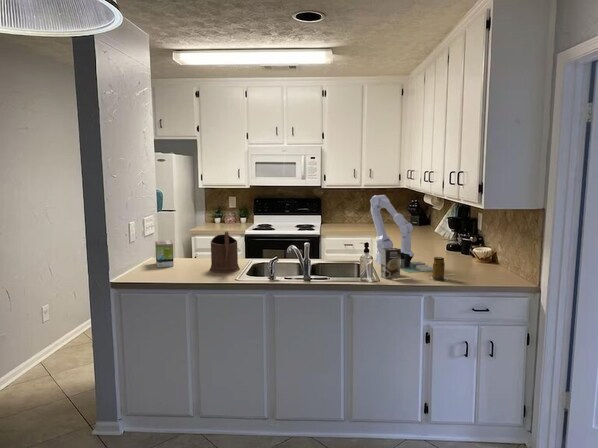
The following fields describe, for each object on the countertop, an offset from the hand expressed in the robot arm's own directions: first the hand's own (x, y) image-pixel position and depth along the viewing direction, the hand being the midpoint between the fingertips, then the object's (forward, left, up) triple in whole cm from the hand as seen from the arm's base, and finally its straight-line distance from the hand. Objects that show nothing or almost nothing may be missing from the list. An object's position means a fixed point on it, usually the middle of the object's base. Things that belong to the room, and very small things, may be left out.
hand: (405, 265), depth 263 cm
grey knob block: (-1, +9, -2) cm, 9 cm away
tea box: (-59, -138, -2) cm, 150 cm away
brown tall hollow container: (-31, -103, -2) cm, 108 cm away
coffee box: (+14, -18, -2) cm, 23 cm away
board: (+4, +4, -2) cm, 6 cm away
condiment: (+27, +5, -2) cm, 28 cm away
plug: (0, 0, -1) cm, 1 cm away
